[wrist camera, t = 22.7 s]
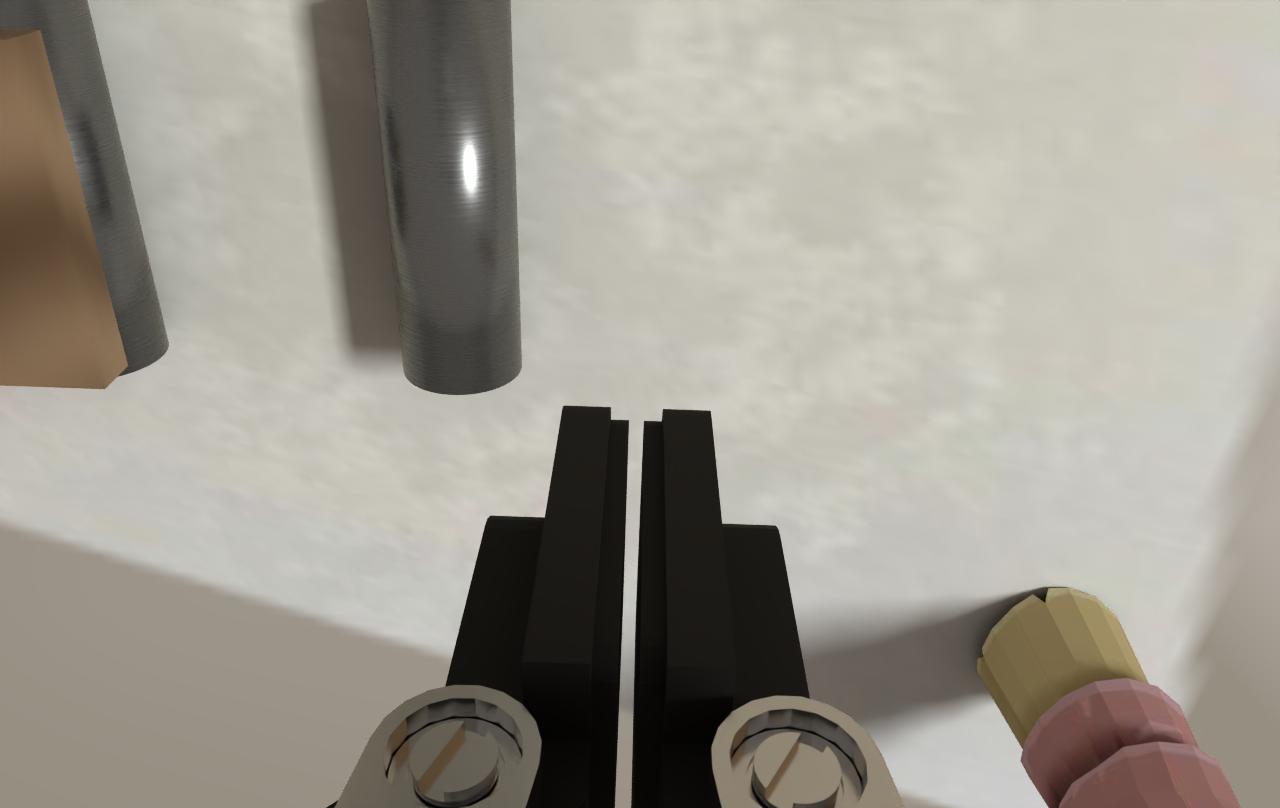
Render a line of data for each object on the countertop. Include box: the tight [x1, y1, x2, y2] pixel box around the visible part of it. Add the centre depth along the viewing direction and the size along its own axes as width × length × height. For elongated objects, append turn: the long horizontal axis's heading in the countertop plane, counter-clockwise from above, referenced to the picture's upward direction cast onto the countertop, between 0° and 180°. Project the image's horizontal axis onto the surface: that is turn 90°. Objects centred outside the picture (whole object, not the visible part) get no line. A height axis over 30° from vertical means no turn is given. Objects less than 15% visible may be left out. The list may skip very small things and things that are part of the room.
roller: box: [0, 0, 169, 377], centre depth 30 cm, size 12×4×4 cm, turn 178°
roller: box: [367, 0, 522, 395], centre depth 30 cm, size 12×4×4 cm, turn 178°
